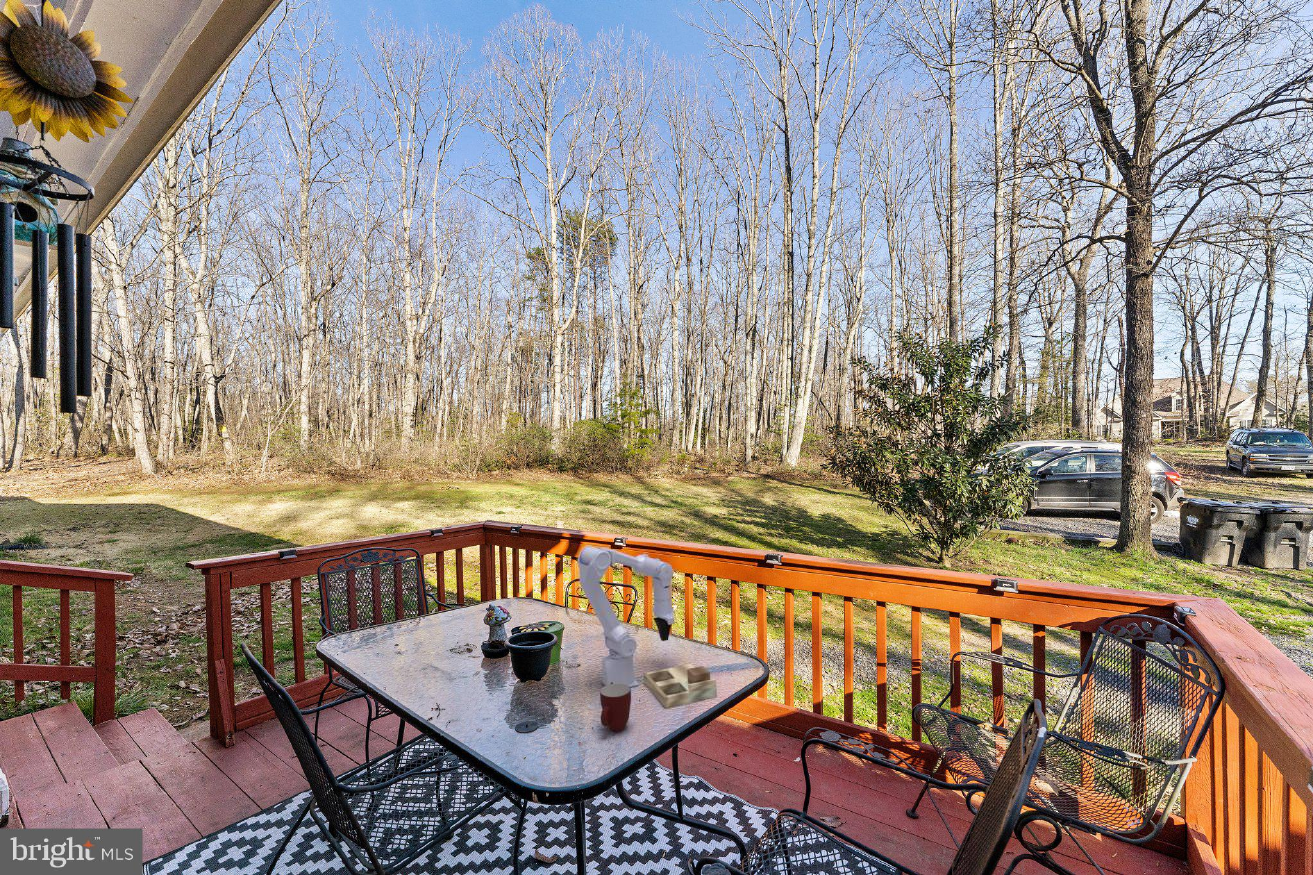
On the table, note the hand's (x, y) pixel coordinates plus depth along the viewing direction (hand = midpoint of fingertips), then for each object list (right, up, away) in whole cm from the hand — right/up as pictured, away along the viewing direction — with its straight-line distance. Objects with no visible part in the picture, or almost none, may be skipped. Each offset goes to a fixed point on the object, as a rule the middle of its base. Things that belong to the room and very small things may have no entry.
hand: (664, 639), depth 185 cm
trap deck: (+4, -9, -16) cm, 19 cm away
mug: (-13, -10, -37) cm, 41 cm away
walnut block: (+10, -6, -19) cm, 23 cm away
